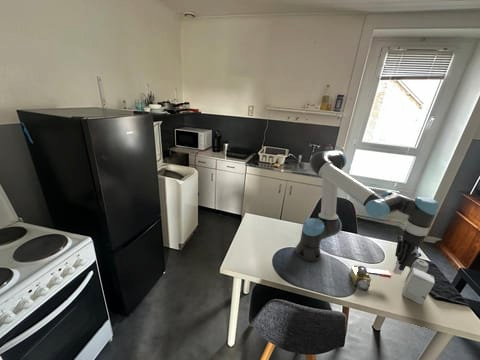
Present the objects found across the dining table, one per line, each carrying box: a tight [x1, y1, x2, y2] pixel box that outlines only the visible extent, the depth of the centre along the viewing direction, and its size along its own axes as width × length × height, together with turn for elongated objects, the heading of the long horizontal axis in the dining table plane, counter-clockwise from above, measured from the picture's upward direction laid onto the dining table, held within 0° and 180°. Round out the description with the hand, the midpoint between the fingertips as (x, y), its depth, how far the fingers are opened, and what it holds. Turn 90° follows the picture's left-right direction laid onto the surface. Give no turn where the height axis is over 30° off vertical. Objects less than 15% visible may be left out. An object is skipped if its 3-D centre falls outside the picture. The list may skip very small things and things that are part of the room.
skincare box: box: [401, 268, 435, 306], centre depth 101 cm, size 8×6×15 cm
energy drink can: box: [405, 258, 429, 282], centre depth 109 cm, size 6×6×15 cm
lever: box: [357, 265, 392, 279], centre depth 108 cm, size 16×4×2 cm, turn 81°
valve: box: [349, 265, 372, 292], centre depth 110 cm, size 13×7×6 cm, turn 171°
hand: (397, 273), depth 96 cm, fingers closed
